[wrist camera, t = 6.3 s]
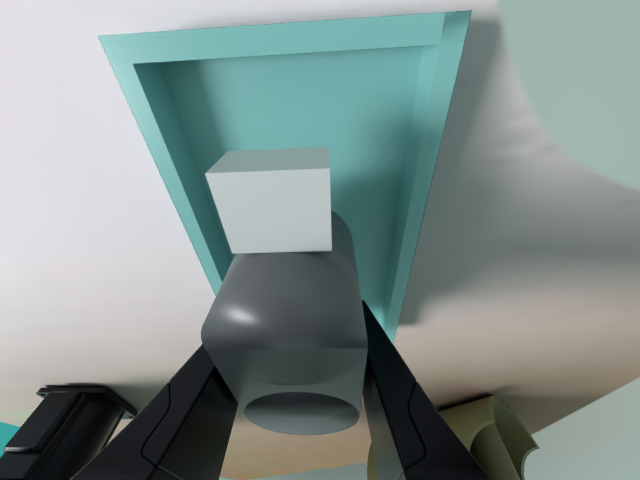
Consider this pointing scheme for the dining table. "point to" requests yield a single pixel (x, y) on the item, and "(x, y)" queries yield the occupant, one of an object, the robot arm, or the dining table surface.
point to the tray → (303, 123)
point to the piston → (486, 438)
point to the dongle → (287, 294)
